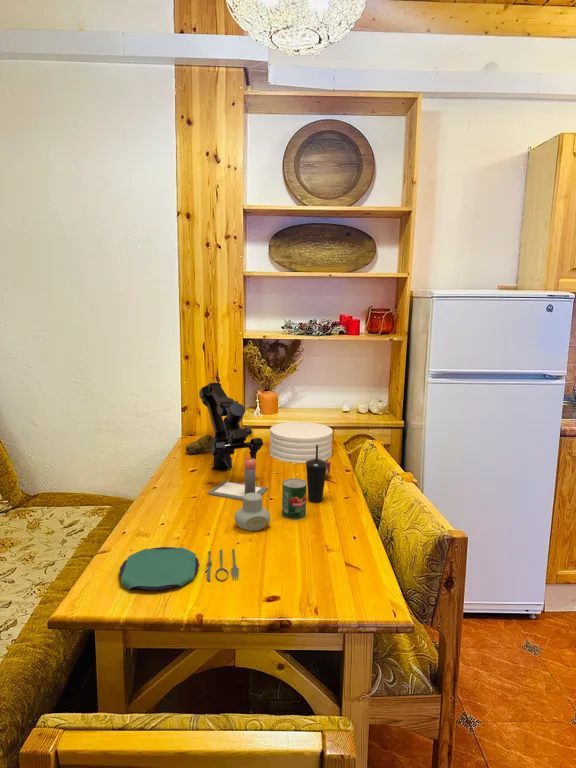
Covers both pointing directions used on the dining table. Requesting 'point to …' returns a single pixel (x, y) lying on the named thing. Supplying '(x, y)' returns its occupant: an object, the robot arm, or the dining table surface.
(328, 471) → the flower
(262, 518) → the air freshener
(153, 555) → the cutlery set
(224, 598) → the dining table surface
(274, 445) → the plate stack
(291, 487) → the canned tomato
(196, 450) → the potato
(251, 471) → the marker
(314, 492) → the drinking cup
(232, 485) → the writing mat
